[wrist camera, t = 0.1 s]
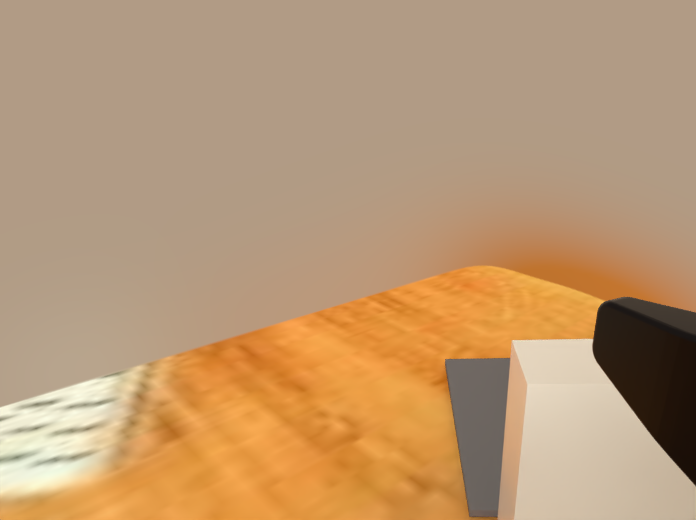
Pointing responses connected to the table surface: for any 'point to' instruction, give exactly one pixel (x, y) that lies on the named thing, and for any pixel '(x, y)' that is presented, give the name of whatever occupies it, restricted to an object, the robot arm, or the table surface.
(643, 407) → the robot arm
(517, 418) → the cream flat block
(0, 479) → the table surface
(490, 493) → the mat
